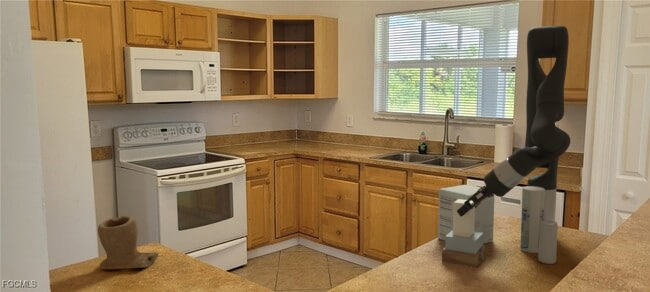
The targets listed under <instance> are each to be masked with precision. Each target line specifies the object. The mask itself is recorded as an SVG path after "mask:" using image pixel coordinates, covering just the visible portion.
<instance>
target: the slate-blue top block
mask: <svg viewBox="0 0 650 292" xmlns="http://www.w3.org/2000/svg"><path fill="white" fill-rule="evenodd" d="M483 245H484V244H483V233H481V232H474V234H473V235H472V236H470V237H463V236H456V235H453V230H452V231H451V232H450V233H449V234H447V235H446V236H445V240H444V248H445V249H447V250H453V251H459V252H465V253H471V254H476V253H477V252H478V251H479V250H480V248H481V247H482V246H483Z"/></svg>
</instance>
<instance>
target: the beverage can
mask: <svg viewBox="0 0 650 292" xmlns="http://www.w3.org/2000/svg"><path fill="white" fill-rule="evenodd" d="M558 229H559V226H558V222H557V221H555V222H554V221H548V220H544V221H541V223H540V233H539V253H538V254H537V255H538V256H537V257H538V261H539V262H540V263H541V264H544V265H552V264H555V263H556V261H557V251H558V249H557V247H558Z"/></svg>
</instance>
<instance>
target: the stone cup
mask: <svg viewBox="0 0 650 292" xmlns="http://www.w3.org/2000/svg"><path fill="white" fill-rule="evenodd" d="M97 234H98V238H99V240H100V241H99V242H100V244H101V246H102V247H103V249H104V251H105V254H106V258H104V259H103V260H102V261H101V262H100V263H99V268H100V269H102V270H128V269H129V270H130V269H140V268H148V267H150V266H152V265H153V264H154V263H155V262H156V261H157V260H158V258H159V253H158V252H140V251H138V248H137V246H138V245H137V243H138V236H139V235H138V224H137V221H136V220H135V219H134V217H133V216H130V215H121V216H120V217H110V218H108V219H106V220H104V221H102V222H101V223H100V224H99V225H98V227H97Z"/></svg>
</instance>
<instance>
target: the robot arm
mask: <svg viewBox="0 0 650 292" xmlns="http://www.w3.org/2000/svg"><path fill="white" fill-rule="evenodd" d="M569 38H570V37H569V31H568V28H567V27H566V26H564V25H549V26H547V25H546V26H543V25H542V26H534V27H531V28H529V30H528V32H527V36H526V57H527V58H526V59H527V62H526V63H527V85H526V86H527V87H526V100H525V101H526V106H525V108H526V113H525V114H526V115H525V117H526V128H525V129H526V130H525V141H524V145H523V146H521V147H519V148H517V149H516V150H515V151H514V152H512V153H511V154H510V155H508V157H507V158H505V159H504V160H503V161H501V162H500V163H498V164H497V165H496V166H494V167H493V169H492V170H490V172H487V174H486V175H485V176H484V177H483V183H484V186H481V187H479V189H478V191H477V192H476V193H474V194H473V195H472V196H471V197H470V198H469V199H468V200H467V201H465V202H464V205H463V206H462V207H460V208H459V209H458V210H457V213H458V214H459V215H460V216H463V215H465V214H466V213H467V212H468V211H469V210H471V209H473V208H474V207H475V208H476V207H478V206H479V205H480V204H482V203H484V202H486V201H488V200H489V199H491V198H492V197H493V196H494V197H495V196H496V197H500V198H503V197H504V196H506V195H507V194H508V193H509V192H510V191H511V190H512V189H514V188H516V186H517V185H520V183H521V182H522V181H523V180H524V179H525V178H526V177H527V176H528V175H530V174H531V173H532V172H533V171H535V170H536V169H539V168H540V169H541V168H542V169H546V171H545V172H543V173H541V174H539V175H535V176H532V177H531V176H530V177H529V178H528V179H527V185H526V186H534V187H541V188H544V189H545V197H544V215H543V221H544V220H548V221H554V222H556V209H557V188H558V184H557V182H558V179H557V178H558V170H559V169H558V167H559V158H560V157H561V156H562V155H564V154H565V153H566V152H567V150H568V149H569V147H570V145H571V137H570V134H568V132H566V131H565V130H562V129H561V128H560V127H558V126H557V125H556V123H558V122H560V121H562V120H563V118H564V116H565V83H566V82H565V81H566V76H567V66H568V56H569V47H570V46H569V44H570V43H569V41H570V39H569ZM539 59H555V60H554V61H555V62H554V64H553V66H552V68H551V69H550V71H549V72H548V73H547V74H546V73H545V71H544V70H543V68H542V66H541V64H540V61H539ZM493 194H495V195H493ZM471 200H472V201H473V202H474V204H473V205H471V204H470V201H471Z"/></svg>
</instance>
